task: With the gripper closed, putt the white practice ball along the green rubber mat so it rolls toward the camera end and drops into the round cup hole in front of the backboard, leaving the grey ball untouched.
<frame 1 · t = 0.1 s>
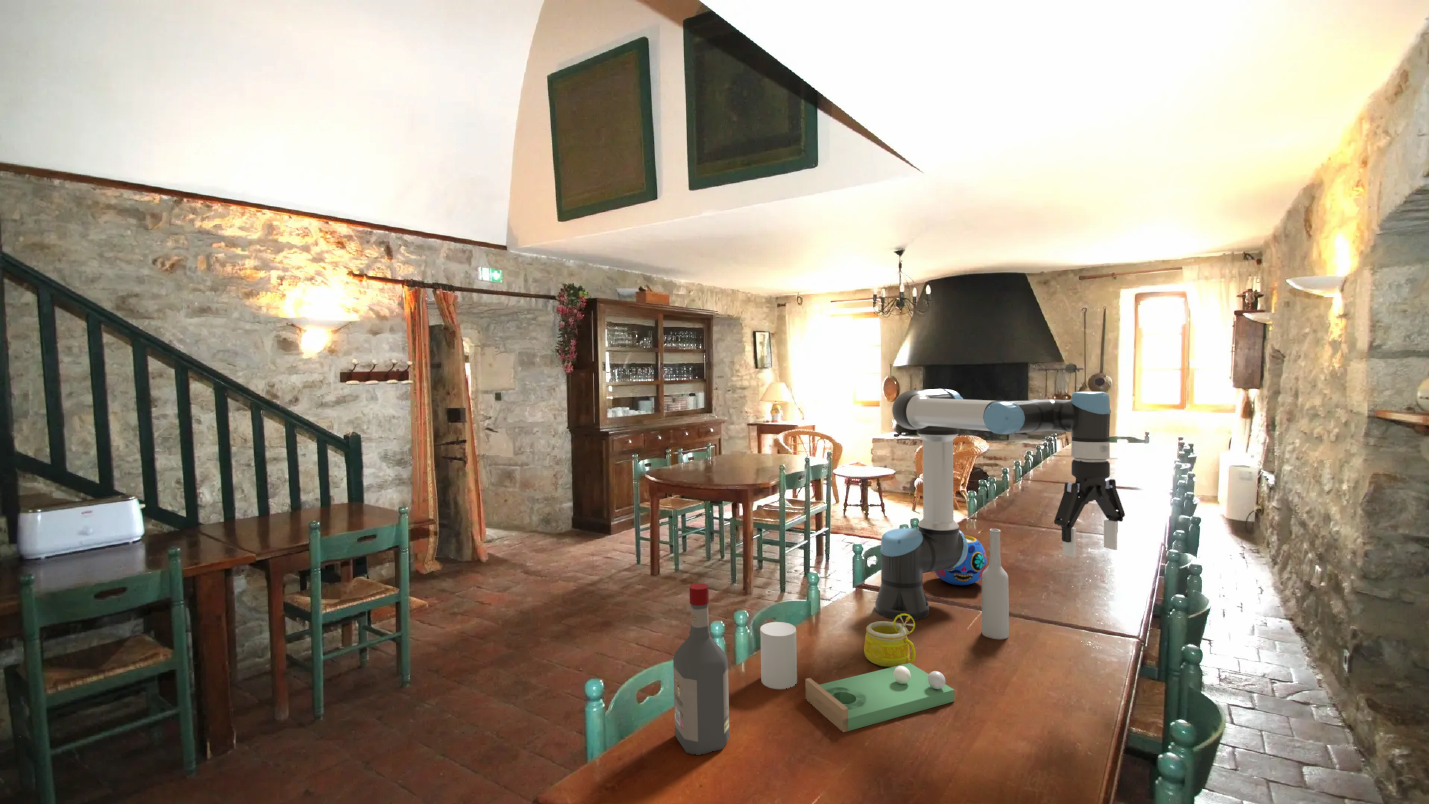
hand: (1090, 552, 145), 28 cm above the table, fingers open, 13 cm apart
cup: (779, 681, 145), on the table
liquor: (702, 741, 122), on the table
blue painted round piece: (958, 583, 210), on the table
mug: (890, 662, 154), on the table
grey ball: (936, 680, 135), point 4 cm above the table, touching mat
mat: (879, 700, 136), on the table
bottle: (995, 635, 169), on the table
ball: (901, 674, 138), point 4 cm above the table, touching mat
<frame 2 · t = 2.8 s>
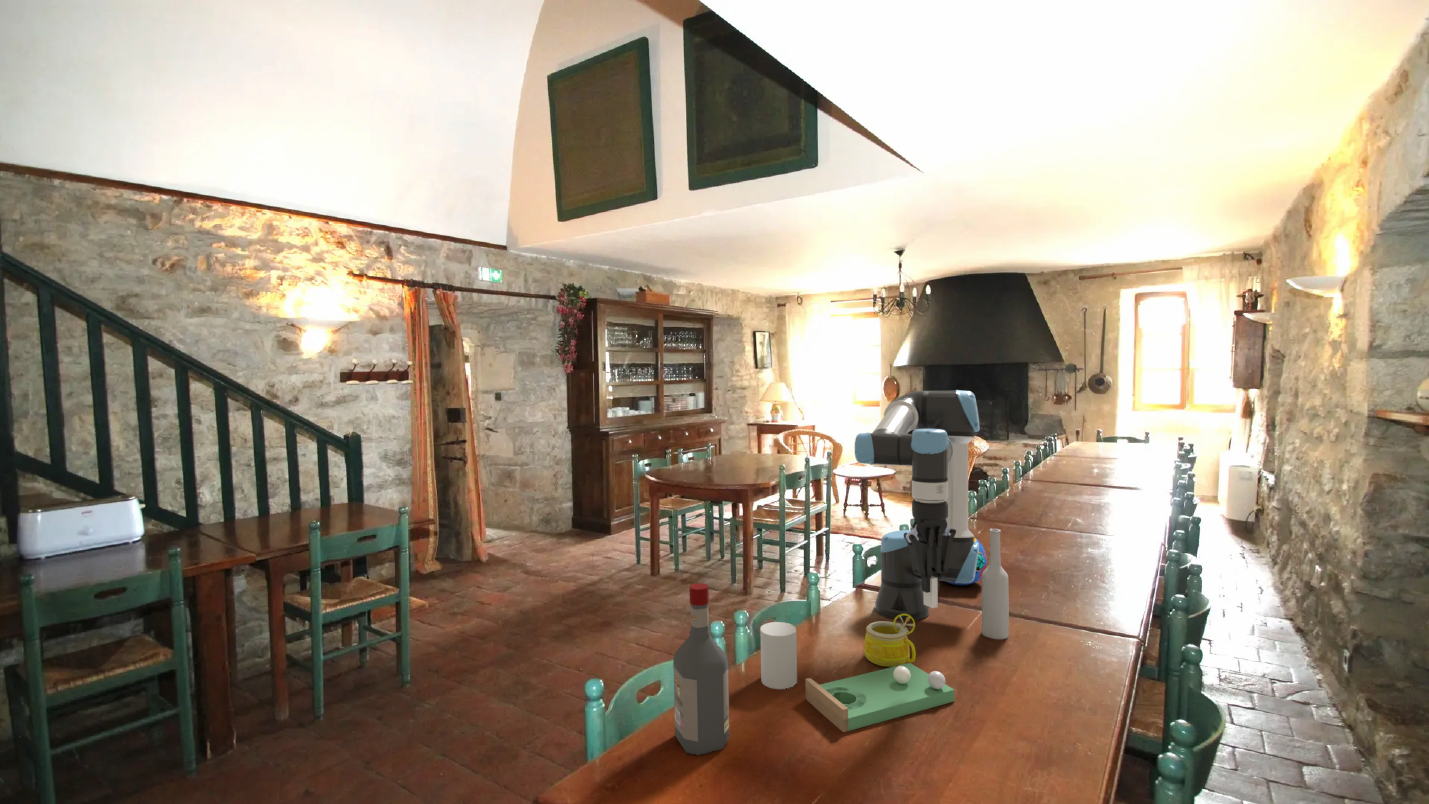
hand: (930, 605, 140), 18 cm above the table, fingers closed
nothing on the table moved.
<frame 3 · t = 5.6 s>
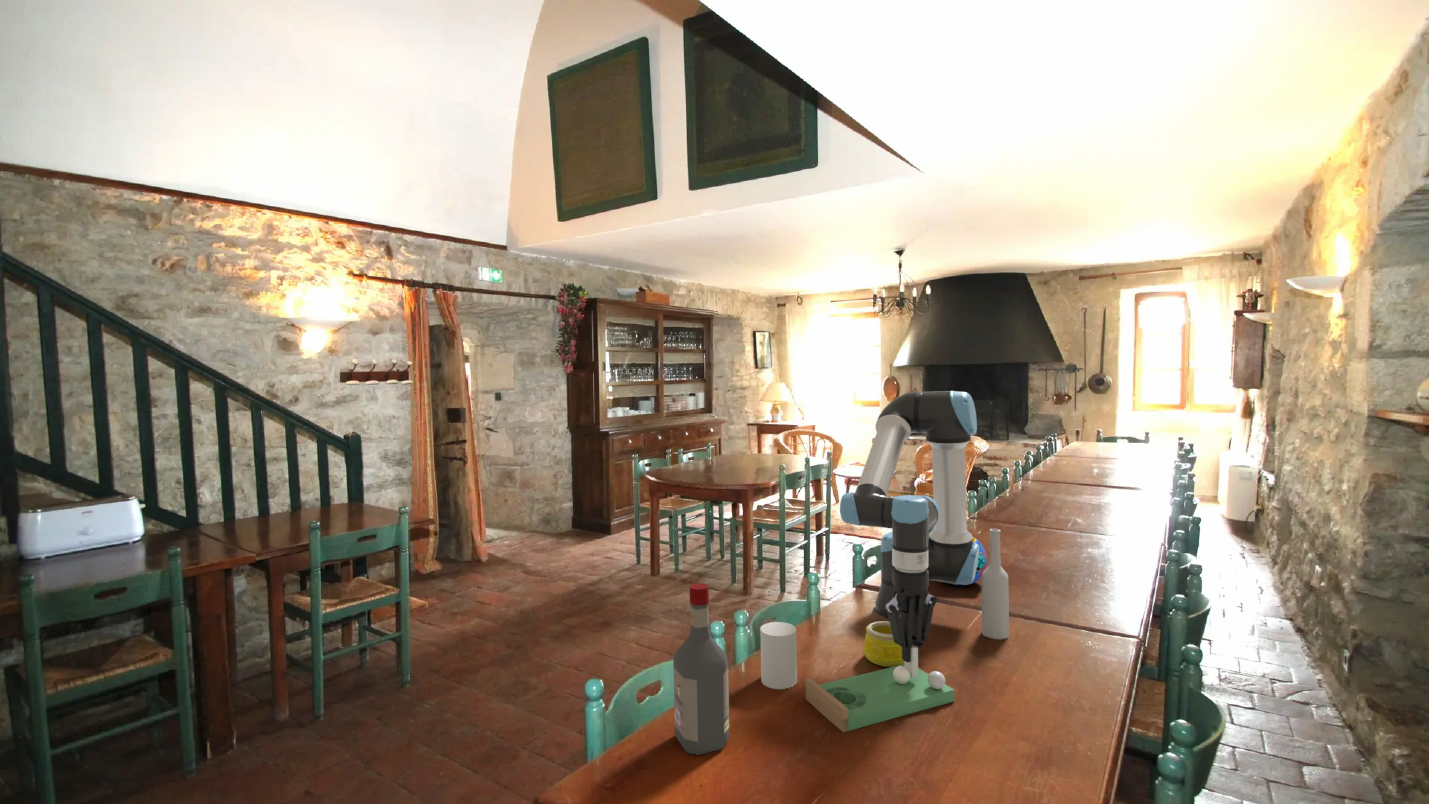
hand: (911, 674, 139), 4 cm above the table, fingers closed
ball: (901, 675, 138), point 4 cm above the table, touching gripper
everything else where it was.
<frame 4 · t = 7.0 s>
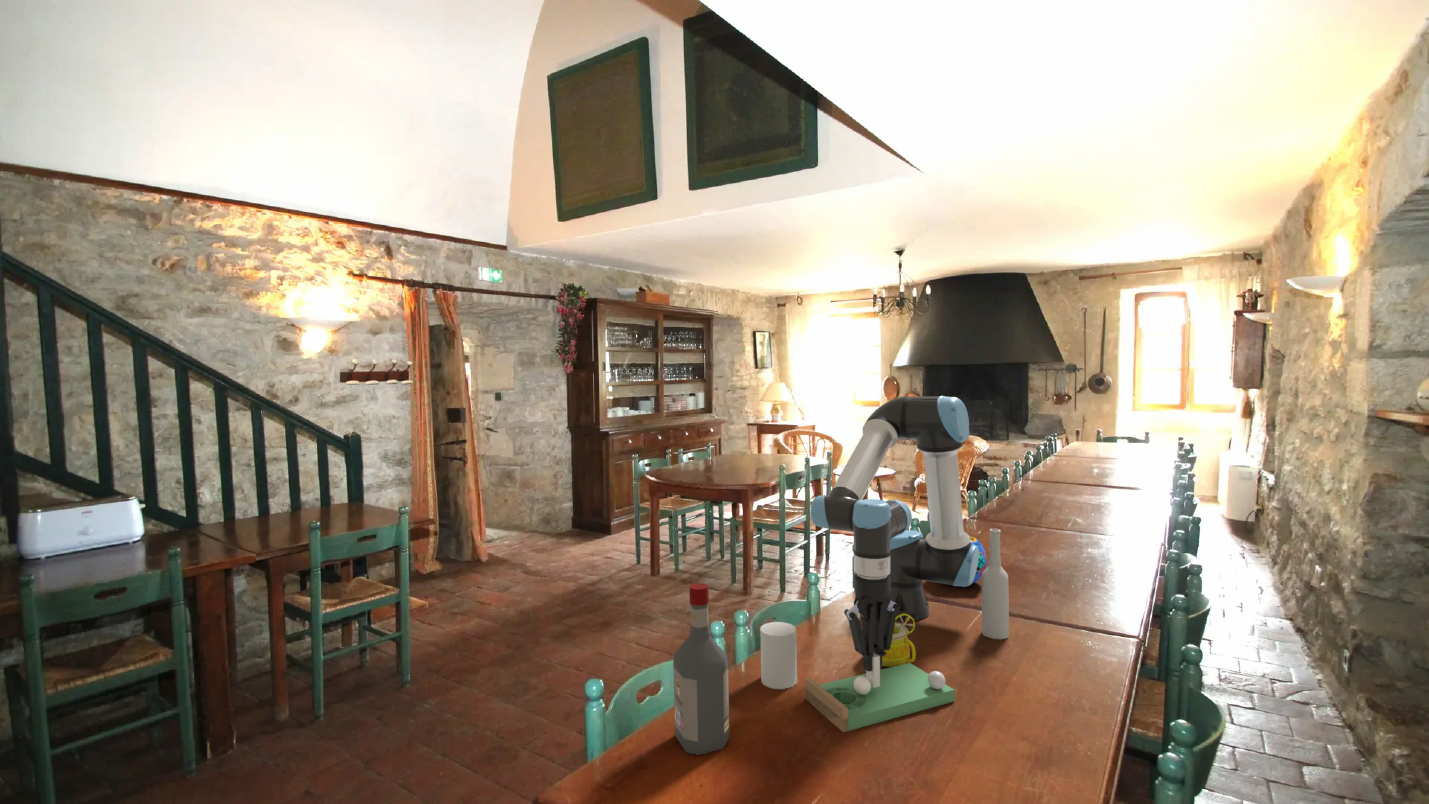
hand: (873, 684, 135), 4 cm above the table, fingers closed
ball: (862, 685, 133), point 4 cm above the table, tilted 26°, touching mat
everything else where it was.
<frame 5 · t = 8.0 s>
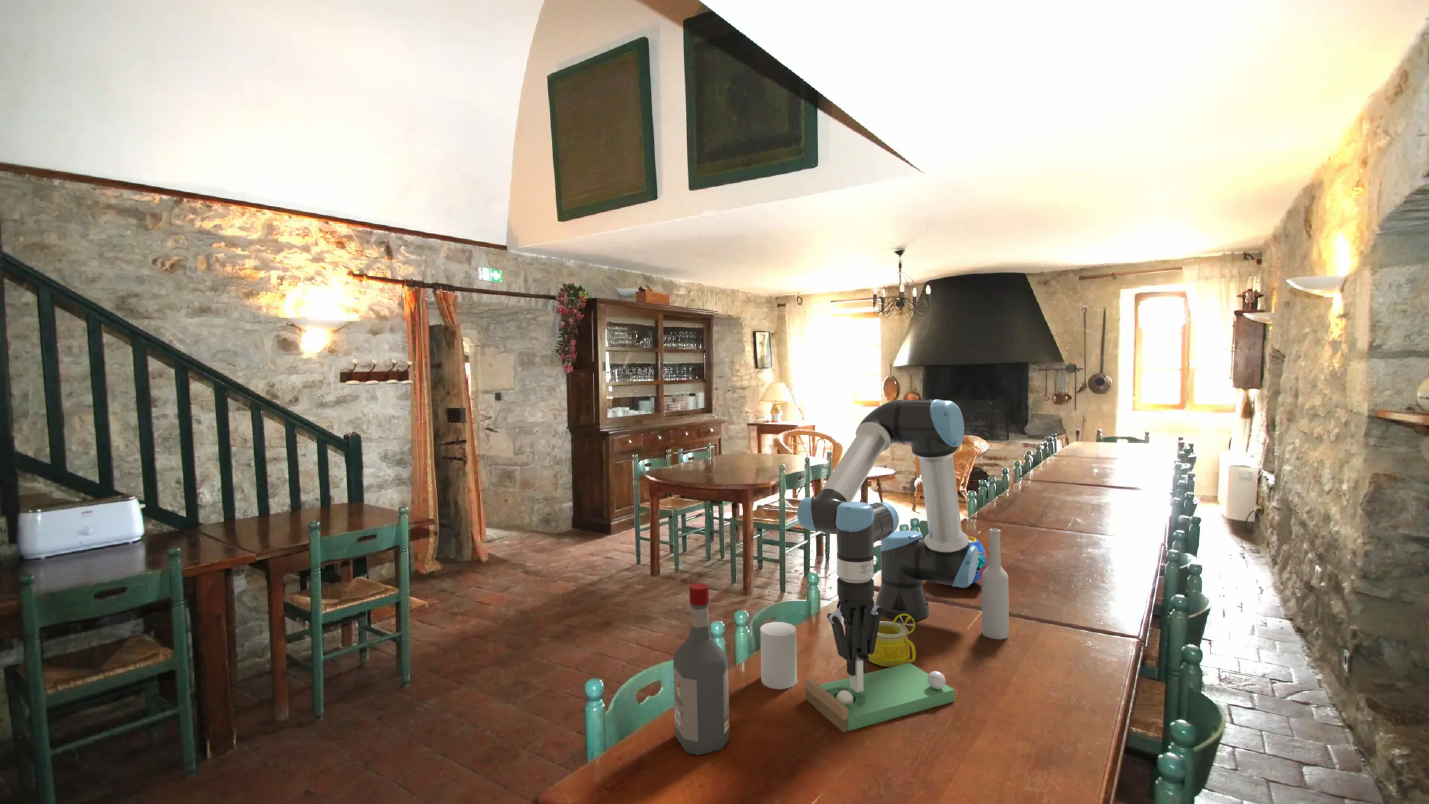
hand: (856, 688, 133), 4 cm above the table, fingers closed
ball: (845, 699, 133), point 2 cm above the table, tilted 101°
everything else where it was.
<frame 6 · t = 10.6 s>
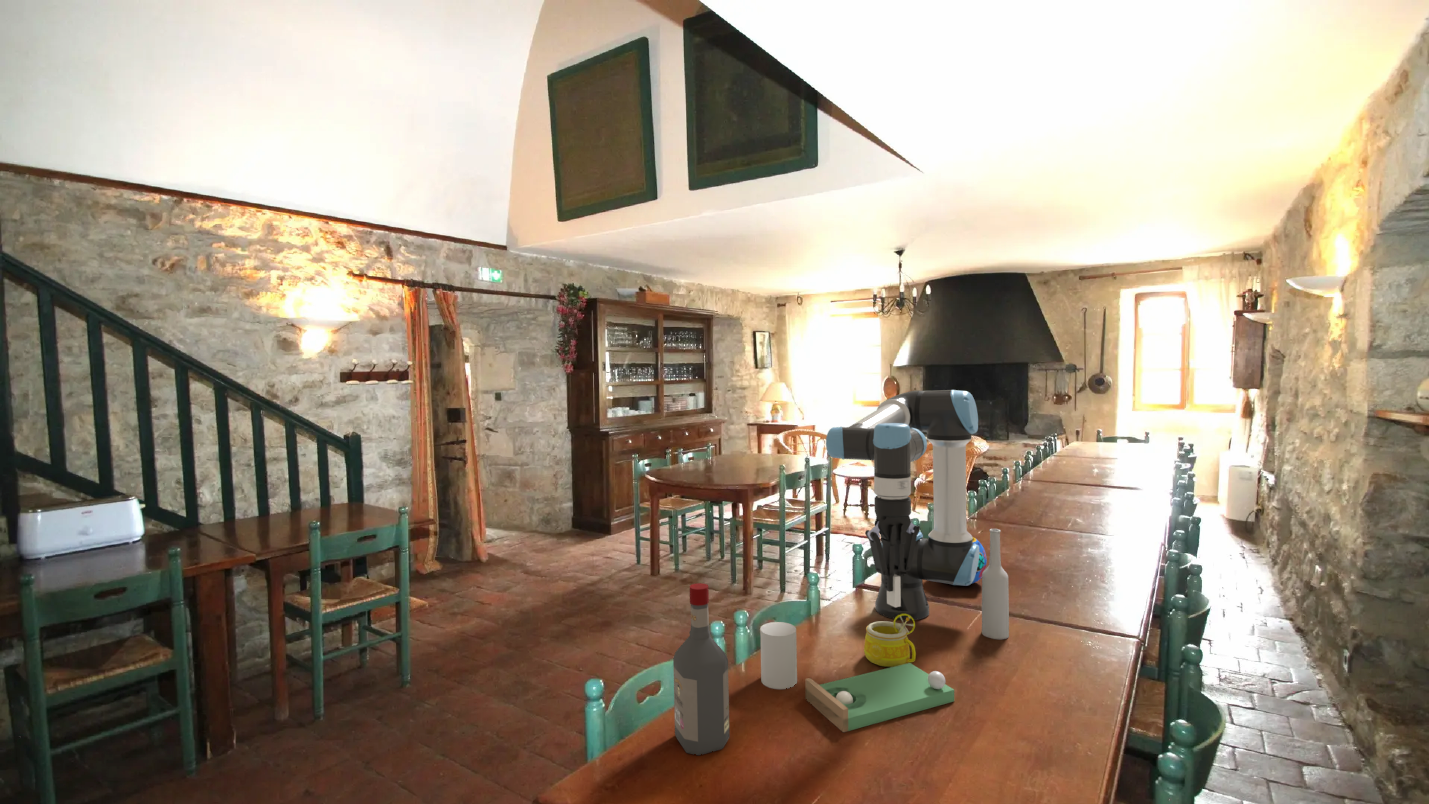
hand: (893, 604, 136), 20 cm above the table, fingers closed
ball: (844, 700, 132), point 2 cm above the table, tilted 112°
everything else where it was.
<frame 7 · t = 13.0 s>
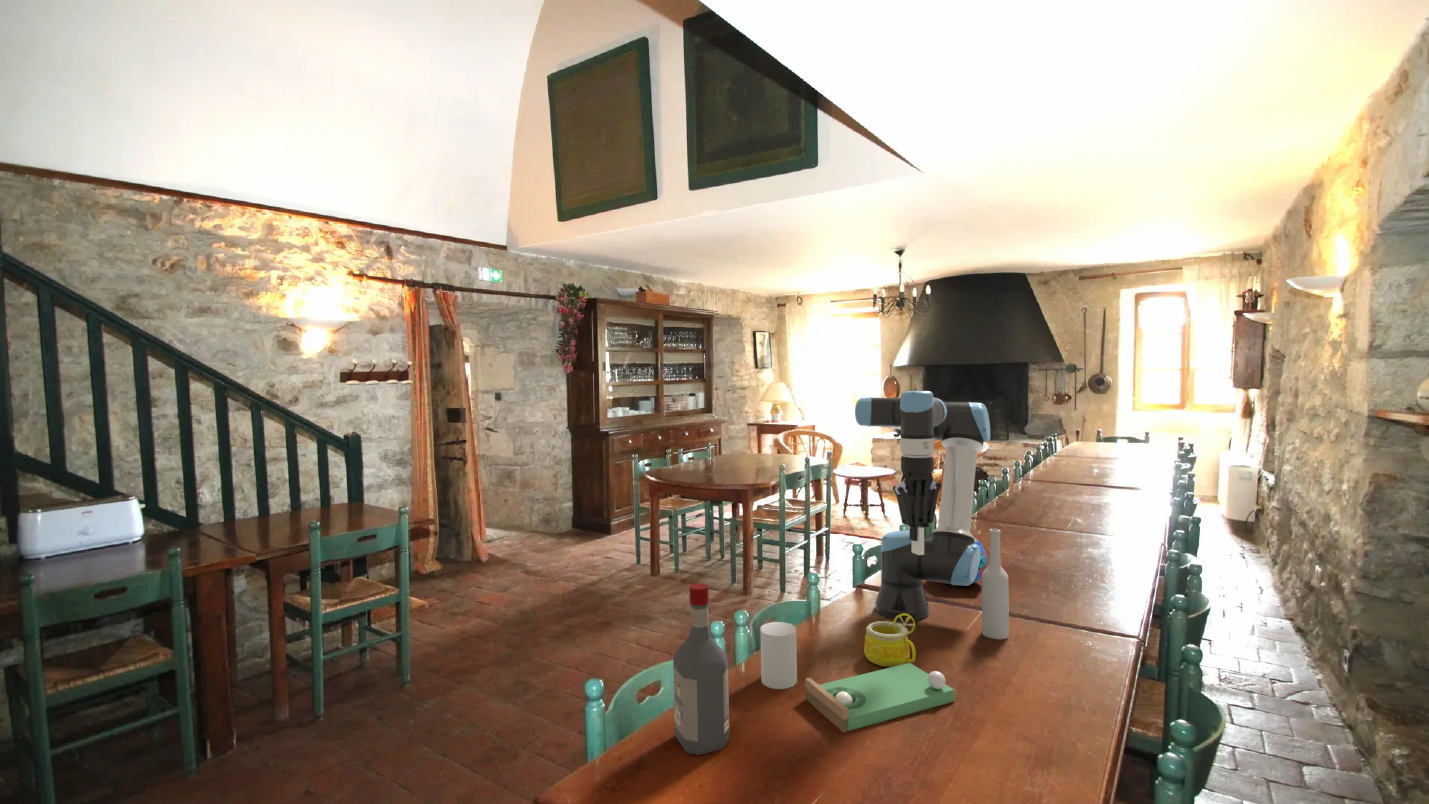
hand: (917, 553, 153), 26 cm above the table, fingers closed
ball: (843, 701, 132), point 2 cm above the table, tilted 122°
everything else where it was.
at the end: ball 0.1 cm from the target spot in the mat, point 1.8 cm above the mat's base; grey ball moved 0.0 cm from its start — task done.
